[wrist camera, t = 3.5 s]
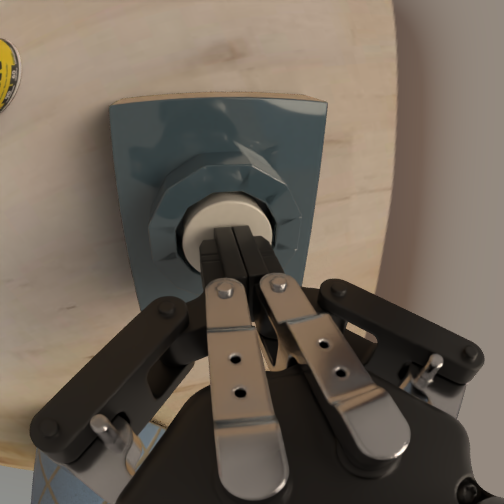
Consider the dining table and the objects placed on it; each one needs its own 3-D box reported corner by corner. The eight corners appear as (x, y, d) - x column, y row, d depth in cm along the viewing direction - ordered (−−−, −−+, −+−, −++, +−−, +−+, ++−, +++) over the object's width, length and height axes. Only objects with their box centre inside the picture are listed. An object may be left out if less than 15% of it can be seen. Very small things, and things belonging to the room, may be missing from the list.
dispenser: (120, 98, 14) (97, 112, 10) (305, 94, 16) (348, 108, 12) (143, 283, 20) (139, 339, 16) (286, 269, 22) (311, 319, 18)
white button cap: (178, 185, 14) (179, 204, 12) (264, 181, 15) (276, 198, 13) (184, 257, 16) (186, 282, 15) (259, 251, 17) (269, 274, 15)
